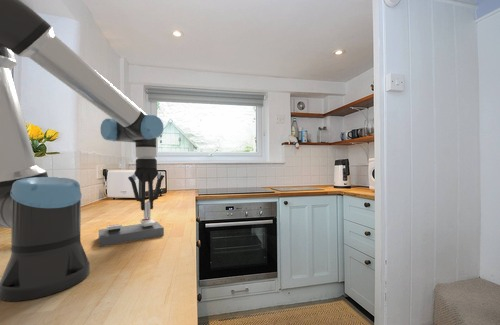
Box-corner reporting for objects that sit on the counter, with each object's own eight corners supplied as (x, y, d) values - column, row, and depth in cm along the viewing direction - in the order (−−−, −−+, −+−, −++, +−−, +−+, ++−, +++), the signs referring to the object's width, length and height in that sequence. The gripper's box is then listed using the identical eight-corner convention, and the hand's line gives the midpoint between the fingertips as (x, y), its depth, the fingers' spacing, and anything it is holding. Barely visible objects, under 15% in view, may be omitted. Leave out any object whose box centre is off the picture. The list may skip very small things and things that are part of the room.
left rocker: (121, 227, 78) (121, 224, 78) (108, 229, 76) (108, 226, 76) (119, 227, 84) (119, 223, 84) (107, 228, 82) (107, 225, 82)
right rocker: (155, 225, 85) (155, 221, 85) (143, 226, 82) (143, 223, 82) (151, 220, 90) (151, 217, 90) (140, 222, 88) (140, 219, 88)
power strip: (163, 235, 84) (163, 225, 84) (99, 247, 73) (99, 235, 73) (156, 228, 93) (156, 219, 93) (98, 238, 82) (98, 227, 82)
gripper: (161, 158, 96) (162, 213, 96) (125, 158, 88) (126, 218, 88) (166, 158, 90) (167, 217, 90) (128, 158, 82) (129, 223, 82)
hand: (147, 217), depth 89 cm, fingers closed, pressing on right rocker
